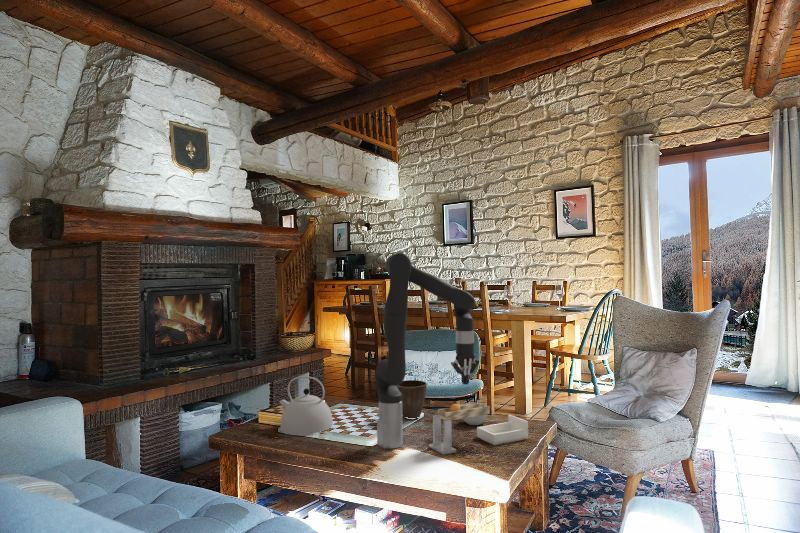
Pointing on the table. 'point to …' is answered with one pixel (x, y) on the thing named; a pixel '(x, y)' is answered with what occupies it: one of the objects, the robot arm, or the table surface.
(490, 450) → the table surface
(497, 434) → the bin
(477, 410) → the chute lever
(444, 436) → the pivot stand
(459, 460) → the table surface
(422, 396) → the plant pot
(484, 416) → the teacup
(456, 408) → the ball
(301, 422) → the kettle
